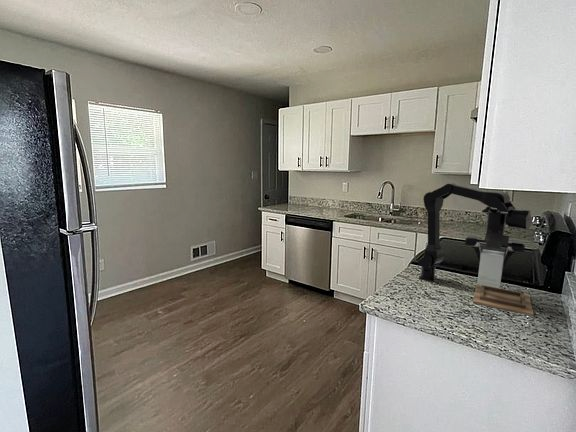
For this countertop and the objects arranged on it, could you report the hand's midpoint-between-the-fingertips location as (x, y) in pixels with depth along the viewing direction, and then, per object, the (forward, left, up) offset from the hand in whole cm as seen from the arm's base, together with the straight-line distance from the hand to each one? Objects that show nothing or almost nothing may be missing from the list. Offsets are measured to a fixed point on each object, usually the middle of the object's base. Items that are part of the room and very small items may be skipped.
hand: (491, 265), depth 120 cm
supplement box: (0, 0, -8) cm, 8 cm away
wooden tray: (-1, +4, -13) cm, 14 cm away
